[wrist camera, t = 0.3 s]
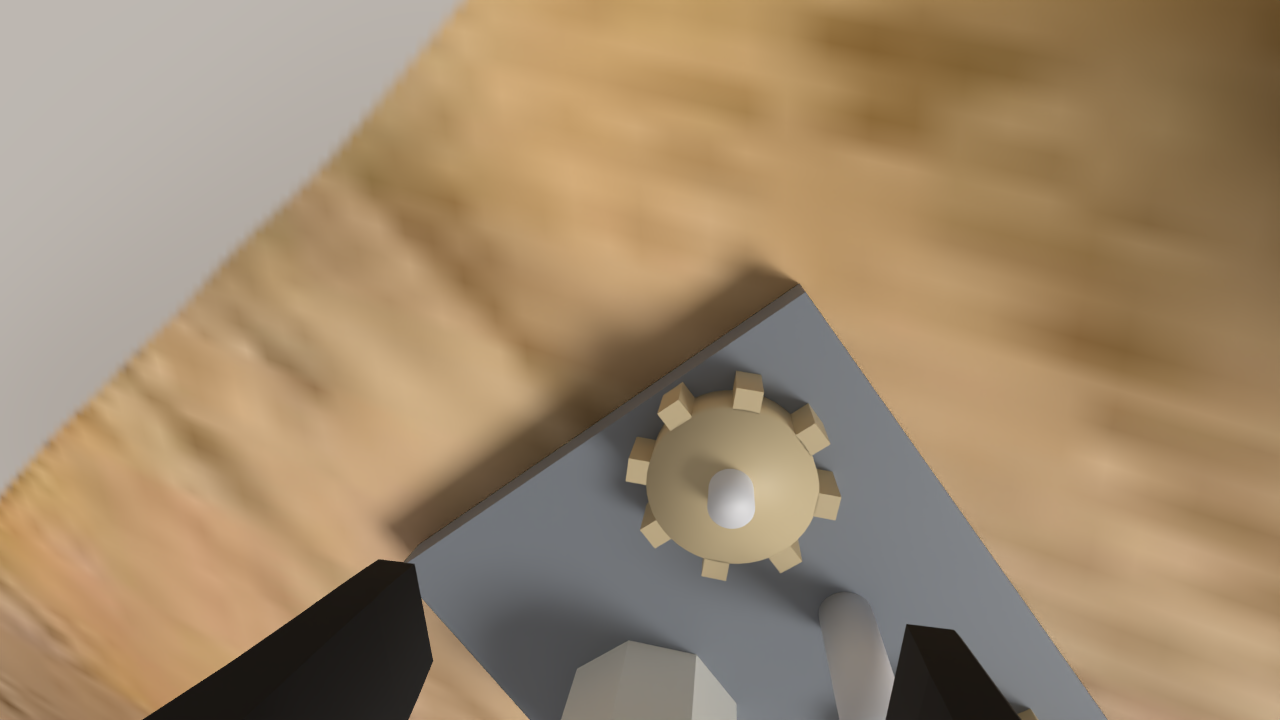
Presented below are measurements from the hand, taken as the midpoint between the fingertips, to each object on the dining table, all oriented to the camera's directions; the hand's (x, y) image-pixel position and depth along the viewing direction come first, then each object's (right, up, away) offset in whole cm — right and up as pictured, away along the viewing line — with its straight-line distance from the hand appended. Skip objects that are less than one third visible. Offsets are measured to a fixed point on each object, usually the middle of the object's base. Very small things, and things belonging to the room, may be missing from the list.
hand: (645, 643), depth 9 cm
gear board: (+4, -5, +12) cm, 14 cm away
